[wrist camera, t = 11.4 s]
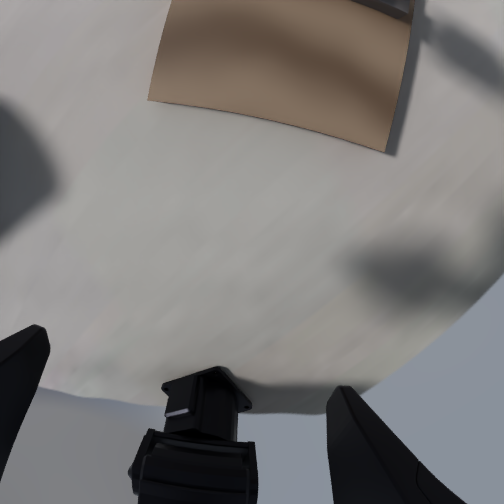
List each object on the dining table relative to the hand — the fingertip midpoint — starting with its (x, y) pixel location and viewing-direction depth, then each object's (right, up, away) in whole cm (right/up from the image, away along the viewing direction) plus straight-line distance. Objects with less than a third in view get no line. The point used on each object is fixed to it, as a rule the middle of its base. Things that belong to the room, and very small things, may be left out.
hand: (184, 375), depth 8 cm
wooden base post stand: (+5, +20, +5) cm, 21 cm away
